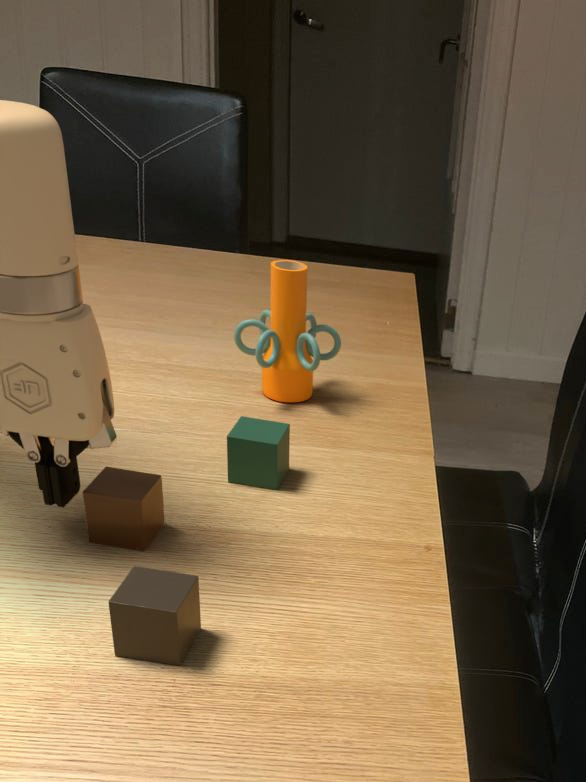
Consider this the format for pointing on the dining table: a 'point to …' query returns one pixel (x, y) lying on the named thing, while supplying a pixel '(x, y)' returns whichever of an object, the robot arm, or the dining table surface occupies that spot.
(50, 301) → the robot arm
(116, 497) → the walnut block
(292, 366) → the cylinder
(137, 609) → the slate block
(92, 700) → the dining table surface
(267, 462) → the teal block
